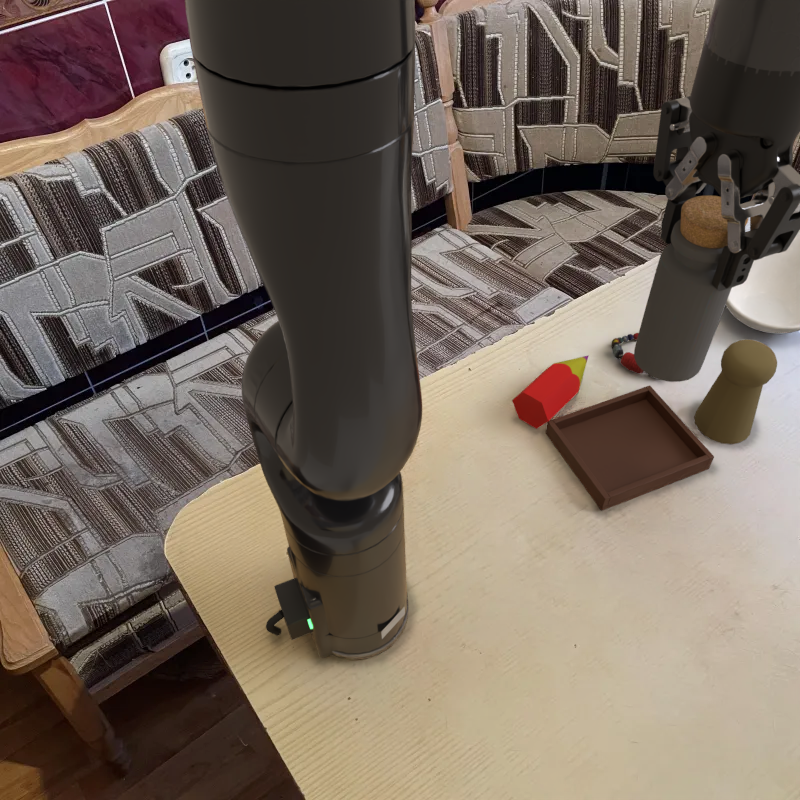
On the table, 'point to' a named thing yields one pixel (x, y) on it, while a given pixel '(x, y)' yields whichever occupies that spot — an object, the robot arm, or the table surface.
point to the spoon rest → (770, 293)
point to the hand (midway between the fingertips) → (698, 261)
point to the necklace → (628, 357)
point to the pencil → (550, 391)
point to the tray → (627, 446)
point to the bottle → (684, 295)
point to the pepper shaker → (736, 392)
